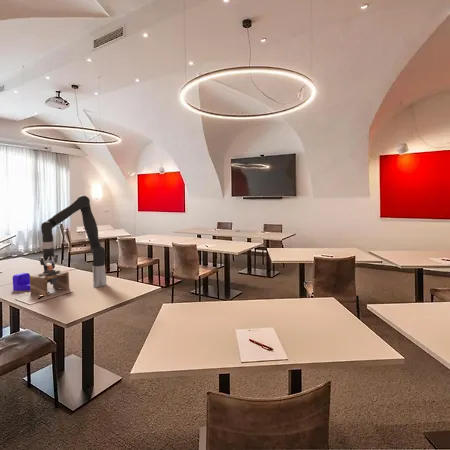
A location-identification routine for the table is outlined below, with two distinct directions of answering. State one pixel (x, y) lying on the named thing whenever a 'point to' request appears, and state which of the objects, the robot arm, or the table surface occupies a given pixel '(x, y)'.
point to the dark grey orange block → (51, 272)
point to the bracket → (21, 282)
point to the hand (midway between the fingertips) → (49, 269)
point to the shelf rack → (40, 282)
